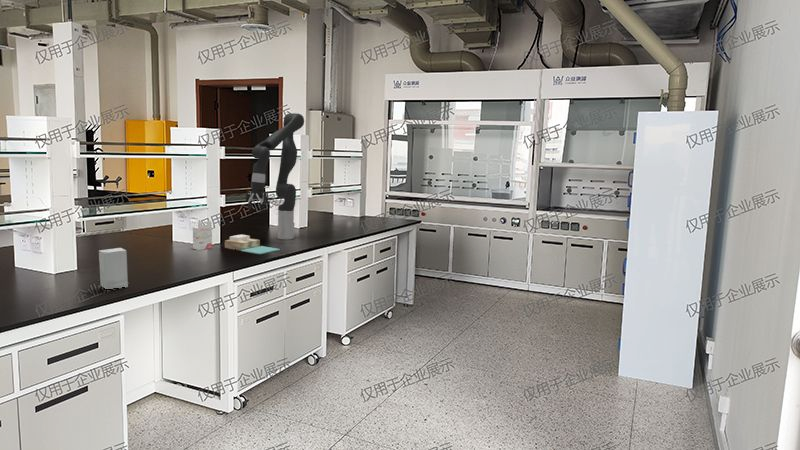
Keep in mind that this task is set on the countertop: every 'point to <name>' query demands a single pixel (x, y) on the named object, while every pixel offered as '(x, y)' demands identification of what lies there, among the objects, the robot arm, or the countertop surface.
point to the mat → (260, 250)
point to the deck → (242, 244)
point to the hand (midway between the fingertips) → (255, 210)
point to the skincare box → (113, 268)
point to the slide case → (239, 237)
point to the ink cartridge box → (202, 236)
